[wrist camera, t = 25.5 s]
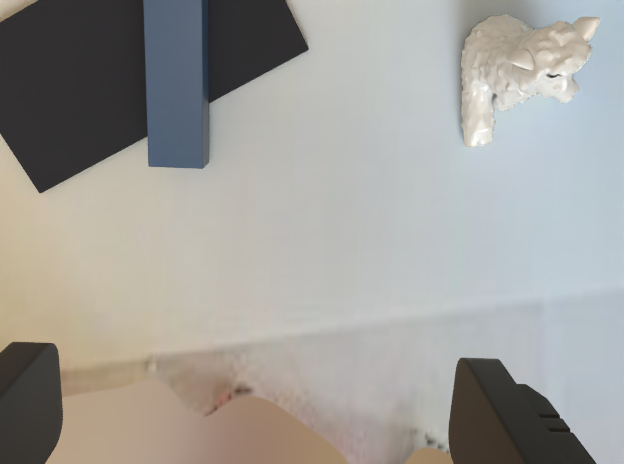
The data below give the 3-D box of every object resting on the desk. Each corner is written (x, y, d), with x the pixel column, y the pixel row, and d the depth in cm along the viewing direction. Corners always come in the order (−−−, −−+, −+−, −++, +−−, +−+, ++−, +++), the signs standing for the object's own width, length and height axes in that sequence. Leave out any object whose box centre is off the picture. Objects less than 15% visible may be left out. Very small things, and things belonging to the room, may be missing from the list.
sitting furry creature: (465, 152, 47) (520, 179, 35) (417, 54, 45) (459, 48, 33) (574, 93, 46) (667, 101, 34) (530, -11, 44) (614, -39, 32)
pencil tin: (151, -64, 42) (140, -74, 39) (208, -61, 42) (201, -71, 39) (157, 160, 46) (148, 166, 43) (209, 162, 46) (203, 168, 43)
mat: (231, -108, 42) (230, -111, 41) (308, 49, 45) (308, 49, 44) (-49, 53, 44) (-54, 52, 43) (42, 192, 47) (39, 193, 46)
